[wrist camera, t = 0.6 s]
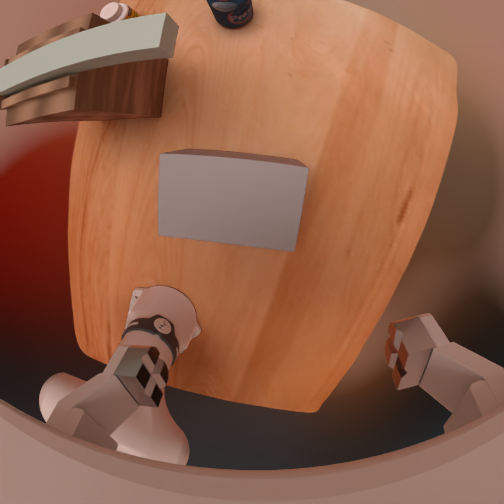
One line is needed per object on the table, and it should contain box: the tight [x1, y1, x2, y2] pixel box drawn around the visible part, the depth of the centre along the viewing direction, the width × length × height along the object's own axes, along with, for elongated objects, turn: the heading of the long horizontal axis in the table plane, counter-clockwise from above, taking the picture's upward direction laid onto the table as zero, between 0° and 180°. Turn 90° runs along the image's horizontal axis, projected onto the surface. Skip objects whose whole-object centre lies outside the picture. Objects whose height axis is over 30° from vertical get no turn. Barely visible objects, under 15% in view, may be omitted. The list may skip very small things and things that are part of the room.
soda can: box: [207, 0, 253, 28], centre depth 30 cm, size 7×7×12 cm
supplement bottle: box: [100, 2, 141, 23], centre depth 31 cm, size 6×6×10 cm
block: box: [158, 149, 309, 252], centre depth 42 cm, size 20×12×14 cm, turn 83°
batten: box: [0, 13, 179, 95], centre depth 16 cm, size 24×4×4 cm, turn 83°
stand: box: [0, 13, 168, 126], centre depth 29 cm, size 14×12×28 cm
